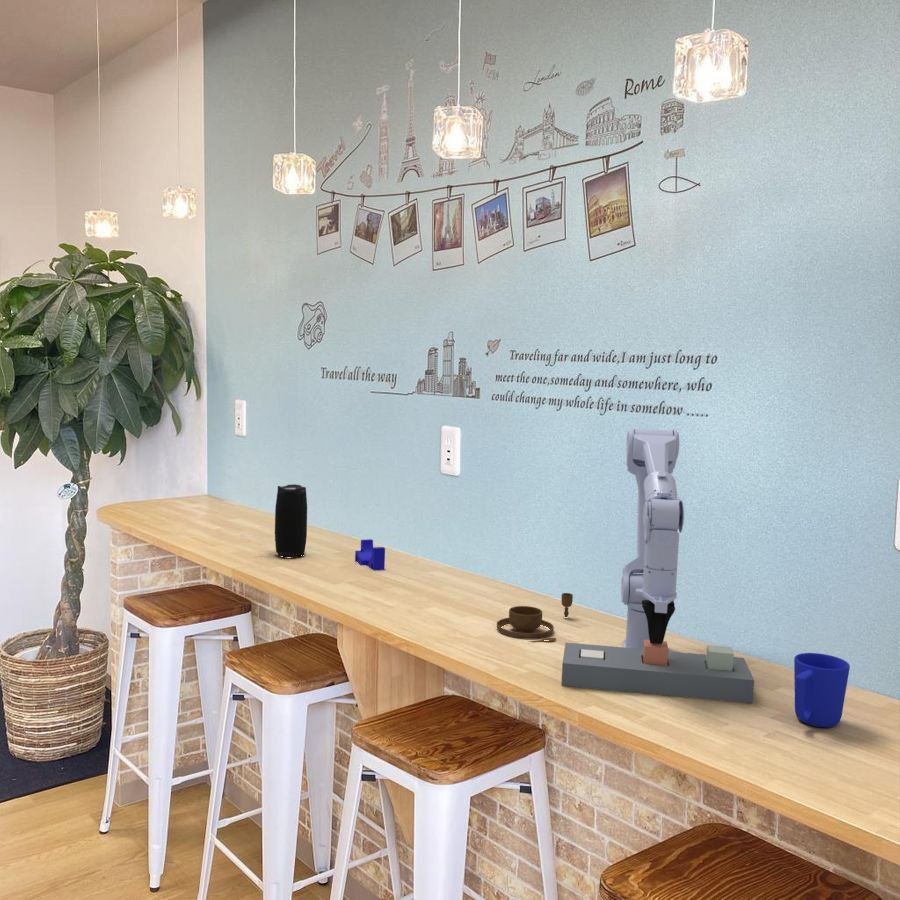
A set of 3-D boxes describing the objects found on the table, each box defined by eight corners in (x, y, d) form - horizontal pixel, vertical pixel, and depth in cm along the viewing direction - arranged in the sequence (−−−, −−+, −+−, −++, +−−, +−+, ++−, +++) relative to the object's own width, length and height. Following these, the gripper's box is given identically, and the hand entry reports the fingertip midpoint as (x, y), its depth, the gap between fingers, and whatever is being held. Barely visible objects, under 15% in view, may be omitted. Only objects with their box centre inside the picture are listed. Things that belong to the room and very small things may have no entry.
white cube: (580, 670, 165) (581, 649, 164) (602, 672, 164) (603, 651, 164) (579, 678, 161) (580, 656, 161) (602, 680, 160) (603, 658, 160)
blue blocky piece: (355, 561, 249) (355, 539, 248) (370, 560, 250) (371, 539, 250) (368, 571, 238) (368, 548, 237) (384, 570, 239) (385, 548, 239)
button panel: (564, 663, 169) (565, 642, 169) (742, 679, 164) (743, 657, 164) (561, 685, 158) (562, 663, 157) (752, 703, 152) (754, 680, 152)
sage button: (705, 666, 161) (707, 644, 161) (729, 668, 160) (730, 646, 160) (708, 674, 157) (709, 651, 157) (732, 676, 156) (733, 653, 156)
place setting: (483, 622, 196) (484, 595, 196) (567, 617, 202) (569, 591, 202) (513, 647, 180) (514, 618, 179) (604, 641, 186) (605, 613, 185)
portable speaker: (271, 558, 248) (272, 487, 246) (279, 551, 257) (280, 483, 255) (302, 560, 247) (303, 489, 245) (309, 552, 257) (310, 484, 255)
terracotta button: (642, 661, 163) (643, 639, 162) (665, 663, 162) (666, 641, 162) (643, 668, 159) (644, 646, 158) (666, 670, 158) (668, 648, 158)
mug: (769, 726, 143) (774, 664, 142) (803, 707, 151) (807, 649, 150) (821, 743, 137) (826, 678, 136) (853, 722, 145) (858, 662, 144)
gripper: (635, 556, 167) (631, 628, 168) (638, 574, 152) (634, 653, 154) (675, 559, 165) (670, 632, 167) (681, 577, 151) (676, 656, 152)
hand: (655, 642), depth 160 cm, fingers closed
